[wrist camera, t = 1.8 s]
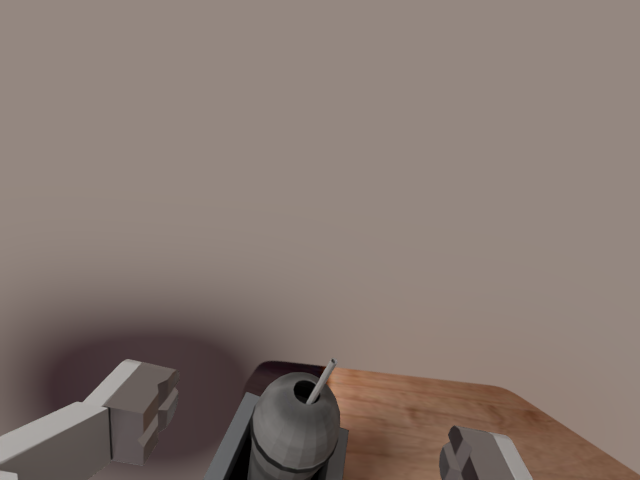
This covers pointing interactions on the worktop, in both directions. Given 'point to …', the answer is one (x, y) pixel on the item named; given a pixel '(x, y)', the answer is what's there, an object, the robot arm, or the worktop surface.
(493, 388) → the worktop surface
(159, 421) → the robot arm
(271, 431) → the beverage cup
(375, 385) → the worktop surface
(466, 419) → the worktop surface
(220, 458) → the holder block
